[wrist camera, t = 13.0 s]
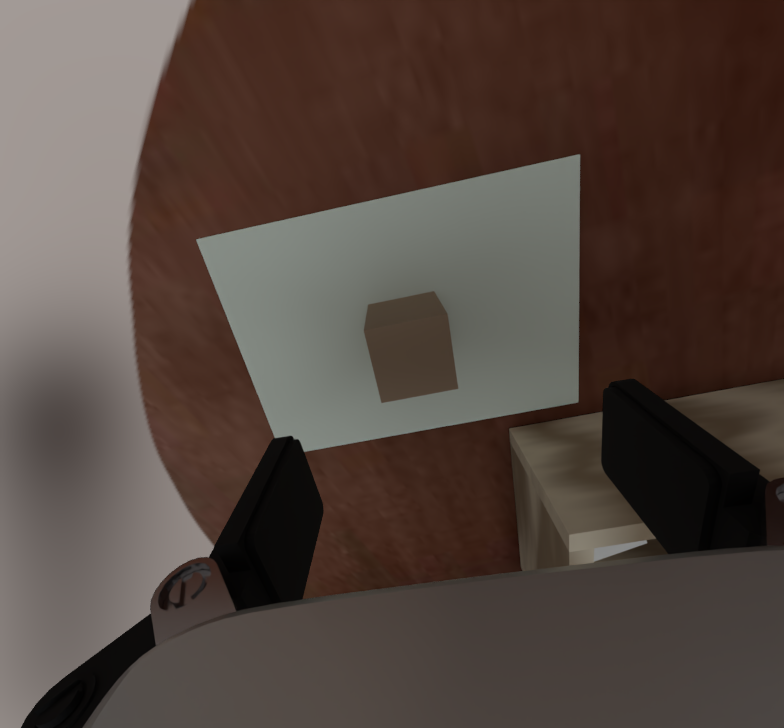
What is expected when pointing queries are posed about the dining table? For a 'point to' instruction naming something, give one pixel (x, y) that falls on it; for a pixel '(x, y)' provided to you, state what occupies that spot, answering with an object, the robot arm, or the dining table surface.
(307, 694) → the robot arm
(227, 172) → the dining table surface
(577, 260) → the lid
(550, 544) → the box
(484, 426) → the dining table surface
